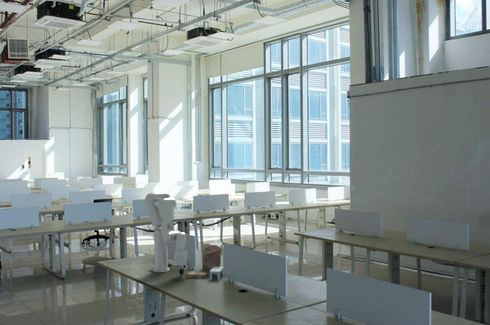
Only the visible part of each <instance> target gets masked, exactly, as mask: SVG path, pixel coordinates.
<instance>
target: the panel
mask: <svg viewBox="0 0 490 325" xmlns="http://www.w3.org/2000/svg"><path fill="white" fill-rule="evenodd" d="M208 276H209V272H208V271H192V270H191V271H188V272H187V273H186V278H187V279H188V278H189V279H206V278H208Z"/></svg>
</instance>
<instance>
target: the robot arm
mask: <svg viewBox="0 0 490 325" xmlns="http://www.w3.org/2000/svg"><path fill="white" fill-rule="evenodd" d="M144 204H145V206H146V209H147V211H148V215H149V218H150V222H151V226H152V228H154V229H156V230H155V231H154V232H153V234H152V236H153V242H154V264H149V267H150V268H151V269H152V271H153V272H154V273H167V272H170V270H171V269H170V267H169V264H168V263H169V262H168V260H169V259H168V258H169V257H168V256H169V255H168V252H169V250H168V245H167V243H173V242H175V247H174V248H173V250H174V255H173V266H174V267H177V268H178V273H179V276H180V275H181V276H182V275H184V272H185V268H188V267H189V254H188V250H187V233H186V232H182V231H179V230H176V229H175V227H174V224H173V223H174V222H173V220H174V218H175V215H174V212H173V209H175V208H176V207H177V201H176V198H175V197H174V196H172V195H170V194H169V193H167V192H166V191H157V192H156V191H154V192H149V193H147V194H146V195H145V197H144ZM157 204H158V205H157Z"/></svg>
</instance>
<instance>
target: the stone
mask: <svg viewBox="0 0 490 325" xmlns="http://www.w3.org/2000/svg"><path fill="white" fill-rule="evenodd" d="M221 249H222V247H221V246H219V245H218V244H210V243H203V244H202V246H201V261H202V270H204V272H208V273H210V270H211V269H212V268H213V267H221V265H222V264H221V262H222V261H221V255H222V250H221Z"/></svg>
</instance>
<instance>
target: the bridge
mask: <svg viewBox="0 0 490 325" xmlns="http://www.w3.org/2000/svg"><path fill="white" fill-rule="evenodd" d="M223 270H224V266H220V267H213V268H212V269H211V270H210V272H209V280H211V281H213V275H214V276H216V280H217V281H220V280H221V277H223V276H224V275H223ZM224 271H225V270H224Z"/></svg>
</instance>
